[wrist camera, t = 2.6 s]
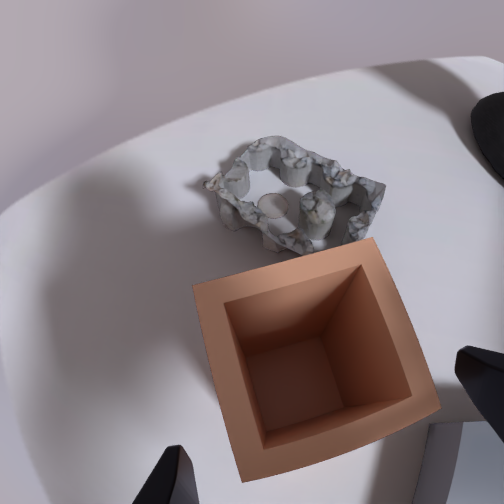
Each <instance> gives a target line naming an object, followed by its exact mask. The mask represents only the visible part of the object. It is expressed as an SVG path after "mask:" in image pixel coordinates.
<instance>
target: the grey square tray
mask: <svg viewBox="0 0 504 504" xmlns="http://www.w3.org/2000/svg"><path fill="white" fill-rule="evenodd" d="M412 504H504V443H503V442H502V440H501V439H500V438H499V436H498V435H497V434H496V432H495V431H494V430H493V428H492V427H491V426H490V424H489V423H488V422H487V421H477V422H455V423H434V424H430V426H429V431H428V437H427V443H426V448H425V453H424V457H423V462H422V467H421V471H420V475H419V479H418V483H417V487H416V491H415V494H414V498H413V502H412Z"/></svg>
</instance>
